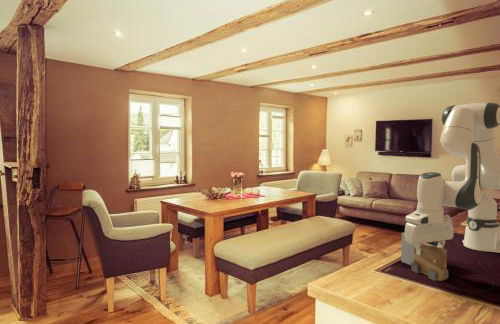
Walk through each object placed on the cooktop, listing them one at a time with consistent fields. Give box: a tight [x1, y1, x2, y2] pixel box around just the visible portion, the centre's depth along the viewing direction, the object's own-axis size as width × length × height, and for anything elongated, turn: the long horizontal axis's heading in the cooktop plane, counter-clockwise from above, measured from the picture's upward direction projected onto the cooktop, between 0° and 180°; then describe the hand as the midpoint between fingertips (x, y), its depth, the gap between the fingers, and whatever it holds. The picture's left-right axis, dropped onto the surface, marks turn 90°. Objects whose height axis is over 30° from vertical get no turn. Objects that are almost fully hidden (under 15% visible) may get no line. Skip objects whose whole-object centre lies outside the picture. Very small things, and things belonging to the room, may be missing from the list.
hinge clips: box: [410, 263, 449, 282], centre depth 128 cm, size 6×11×3 cm, turn 19°
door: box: [414, 243, 448, 282], centre depth 128 cm, size 4×12×11 cm, turn 19°
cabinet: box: [400, 232, 445, 266], centre depth 141 cm, size 14×8×12 cm, turn 109°
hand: (429, 253), depth 128 cm, fingers open, 8 cm apart
